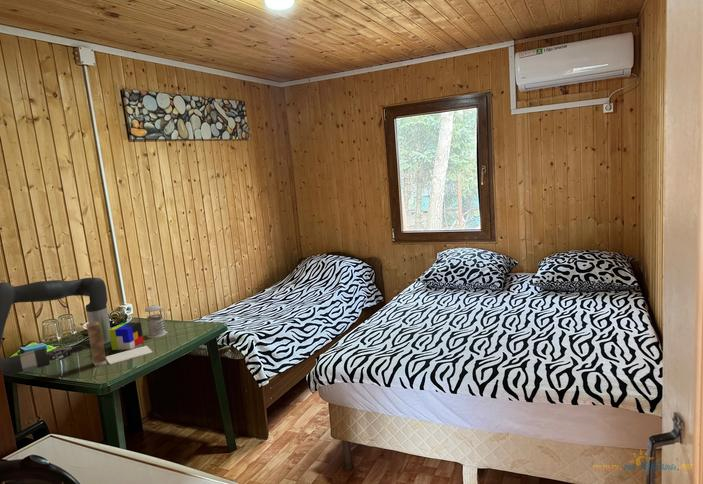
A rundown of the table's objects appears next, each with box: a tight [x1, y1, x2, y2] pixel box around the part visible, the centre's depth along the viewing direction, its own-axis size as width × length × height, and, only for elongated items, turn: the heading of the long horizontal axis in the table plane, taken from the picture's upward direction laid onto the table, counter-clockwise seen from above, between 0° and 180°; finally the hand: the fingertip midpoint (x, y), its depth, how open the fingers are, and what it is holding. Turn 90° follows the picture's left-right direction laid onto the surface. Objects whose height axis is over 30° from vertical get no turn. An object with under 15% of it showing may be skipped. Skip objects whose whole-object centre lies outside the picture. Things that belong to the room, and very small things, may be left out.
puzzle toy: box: [109, 321, 145, 351], centre depth 232 cm, size 10×10×10 cm
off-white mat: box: [105, 345, 153, 366], centre depth 219 cm, size 18×12×1 cm, turn 126°
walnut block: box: [86, 322, 108, 368], centre depth 211 cm, size 4×6×18 cm
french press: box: [144, 286, 168, 339], centre depth 245 cm, size 10×12×25 cm
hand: (82, 347), depth 208 cm, fingers closed
